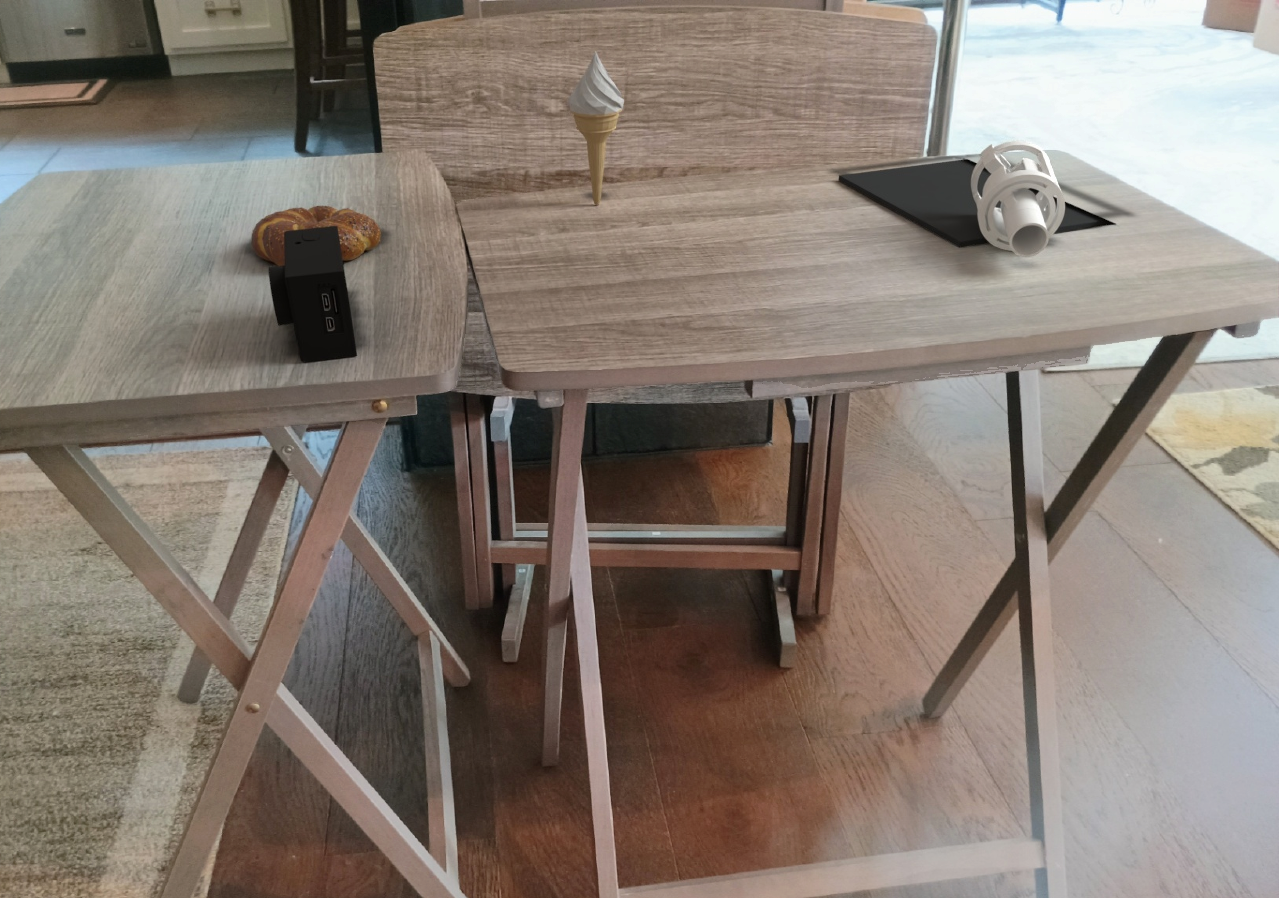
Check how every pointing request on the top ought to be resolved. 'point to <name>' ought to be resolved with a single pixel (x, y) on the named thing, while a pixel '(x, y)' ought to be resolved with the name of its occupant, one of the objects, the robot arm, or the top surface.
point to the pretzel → (352, 227)
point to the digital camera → (314, 294)
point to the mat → (946, 199)
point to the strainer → (1018, 199)
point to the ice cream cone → (596, 116)
